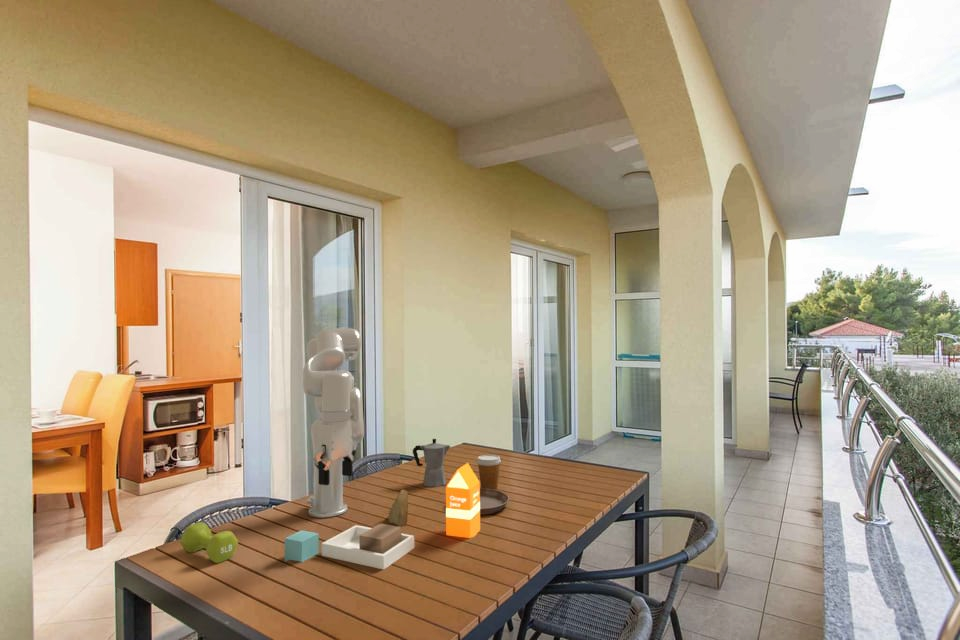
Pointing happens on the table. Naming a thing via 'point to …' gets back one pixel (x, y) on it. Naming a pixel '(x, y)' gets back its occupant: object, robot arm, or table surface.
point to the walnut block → (380, 538)
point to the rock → (399, 509)
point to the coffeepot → (433, 463)
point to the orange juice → (463, 503)
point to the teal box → (301, 546)
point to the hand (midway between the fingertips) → (336, 479)
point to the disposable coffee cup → (489, 471)
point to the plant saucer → (492, 501)
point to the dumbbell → (209, 542)
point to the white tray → (349, 550)
